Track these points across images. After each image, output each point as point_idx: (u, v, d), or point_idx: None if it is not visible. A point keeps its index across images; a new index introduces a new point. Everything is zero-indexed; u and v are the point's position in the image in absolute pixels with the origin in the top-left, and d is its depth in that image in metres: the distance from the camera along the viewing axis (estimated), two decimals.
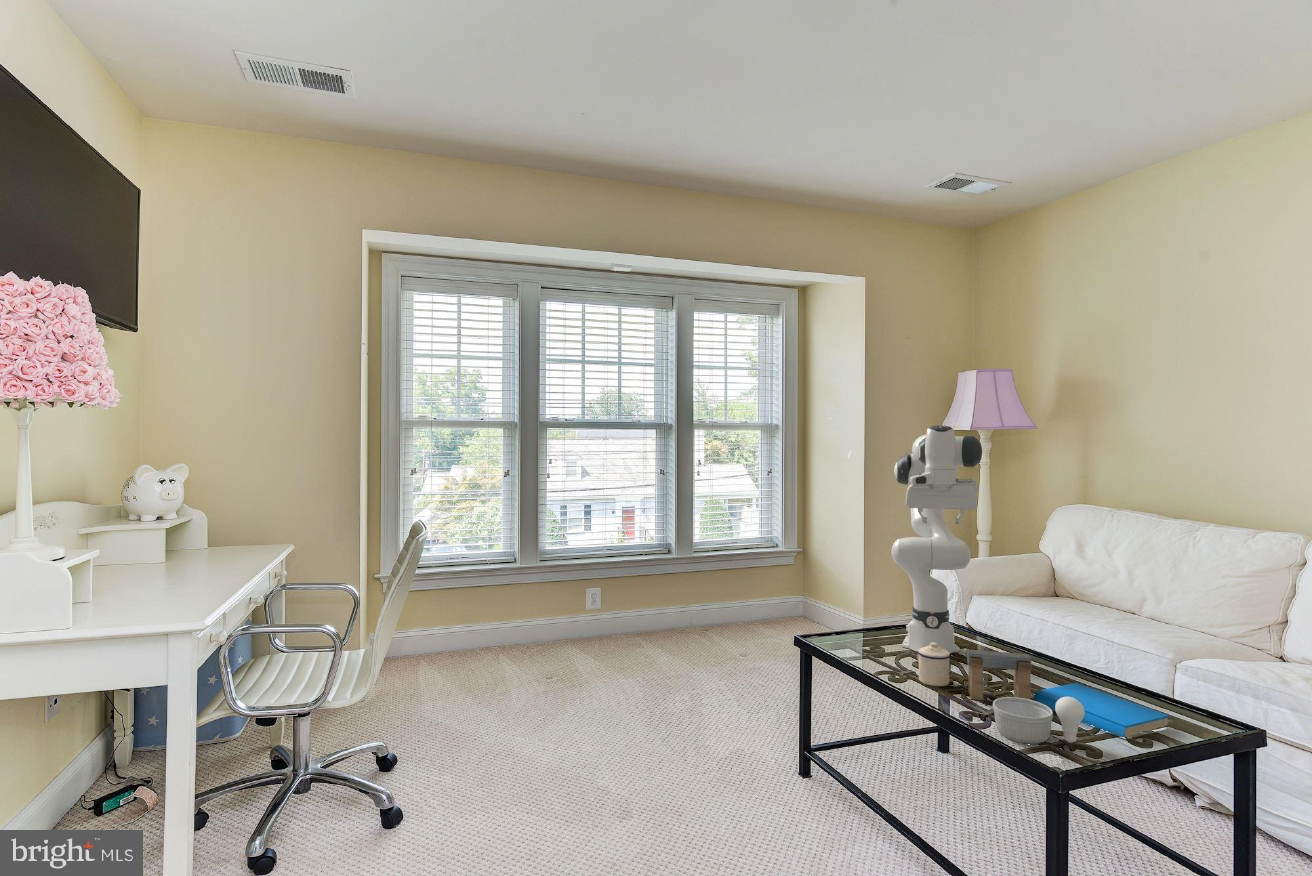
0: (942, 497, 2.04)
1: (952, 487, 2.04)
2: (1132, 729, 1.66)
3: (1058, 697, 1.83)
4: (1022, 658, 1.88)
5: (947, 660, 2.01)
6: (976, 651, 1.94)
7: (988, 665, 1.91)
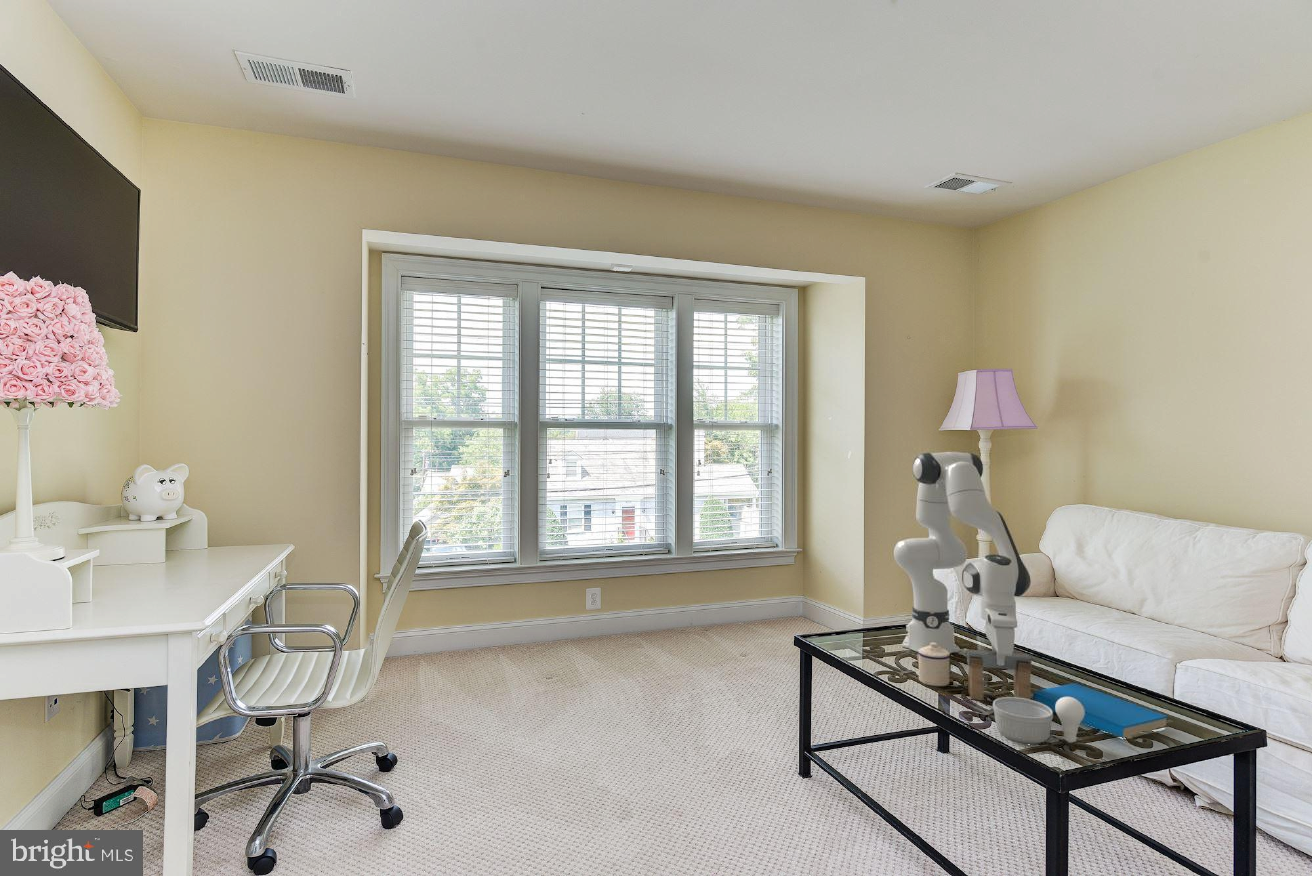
0: None
1: None
2: (1130, 729, 1.65)
3: (1056, 697, 1.83)
4: (1022, 658, 1.88)
5: (947, 660, 2.01)
6: (976, 651, 1.94)
7: (988, 665, 1.91)
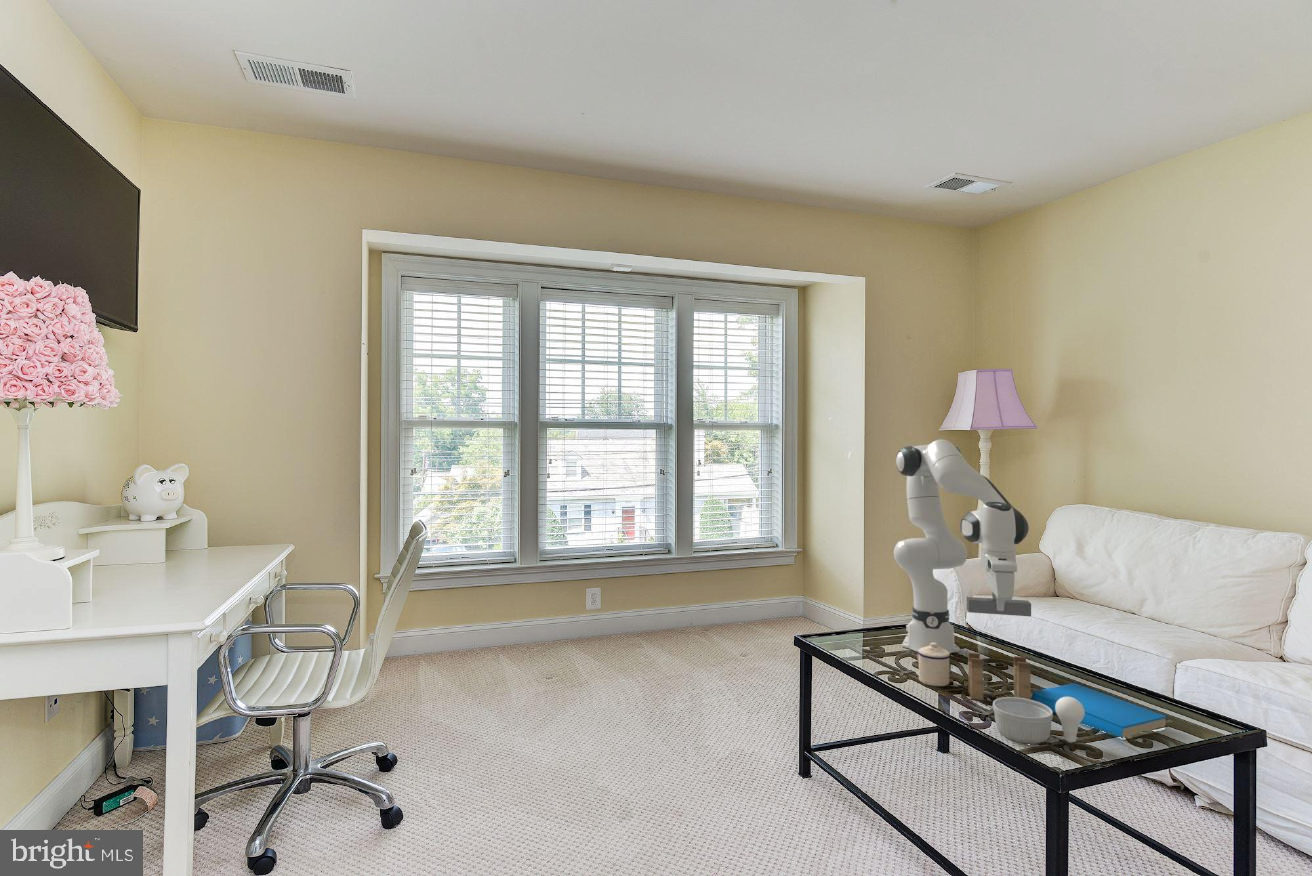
0: None
1: None
2: (1129, 729, 1.65)
3: (1056, 697, 1.83)
4: (1022, 604, 1.88)
5: (947, 660, 2.01)
6: (976, 598, 1.94)
7: (988, 611, 1.91)
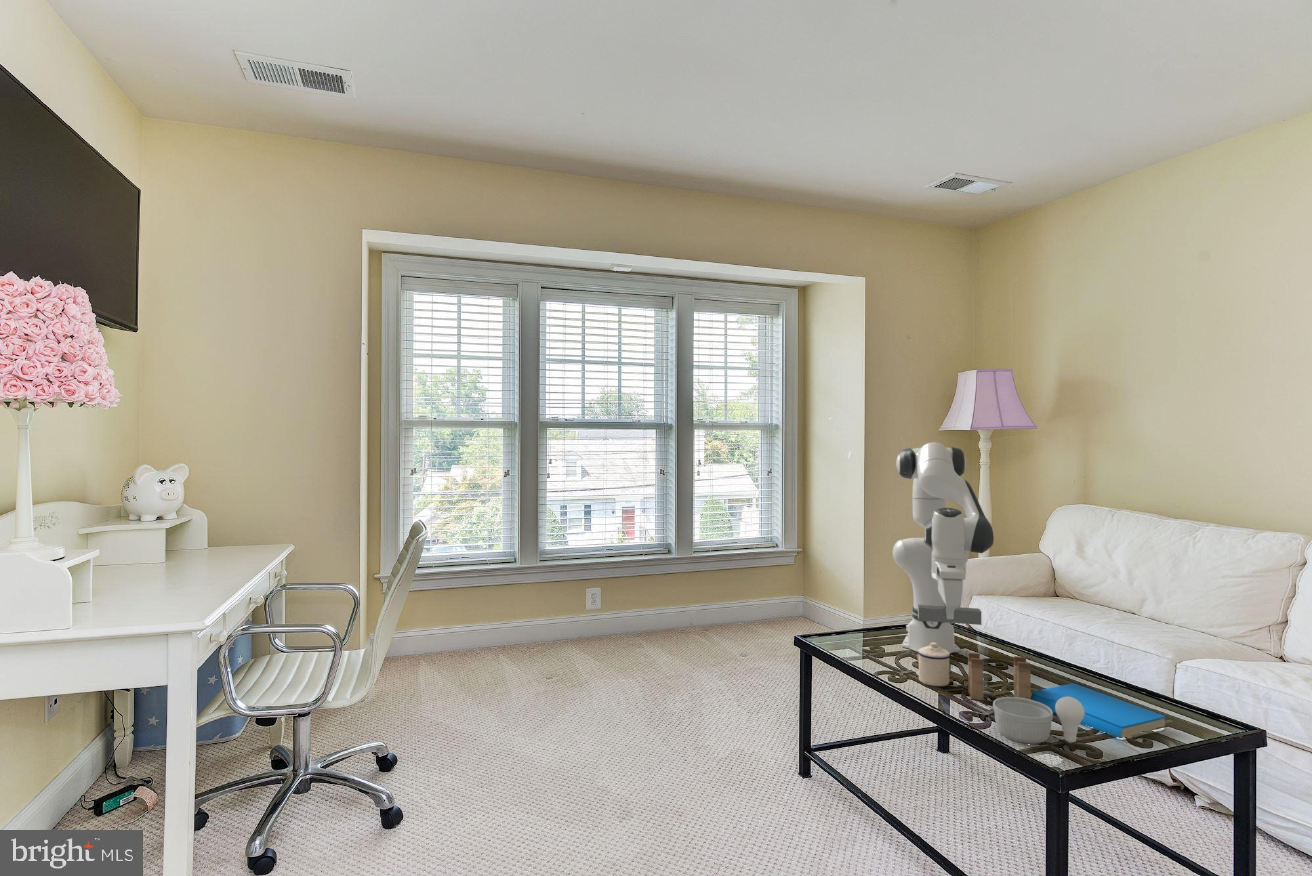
0: None
1: None
2: (1128, 729, 1.65)
3: (1055, 698, 1.83)
4: (972, 612, 1.85)
5: (947, 660, 2.01)
6: (927, 606, 1.90)
7: (938, 619, 1.87)
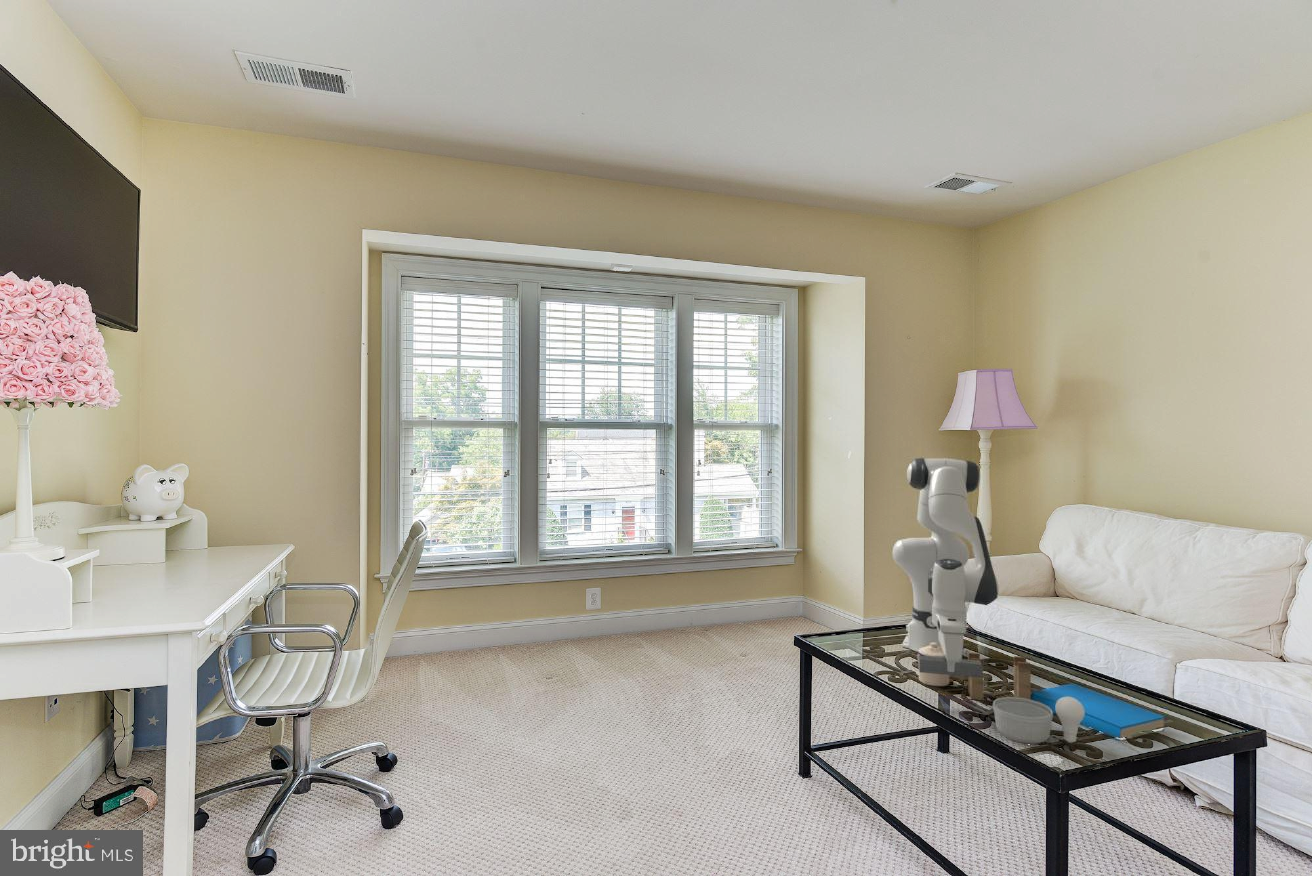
0: None
1: None
2: (1127, 730, 1.65)
3: (1054, 698, 1.82)
4: (973, 664, 1.84)
5: None
6: (927, 657, 1.90)
7: (939, 672, 1.87)
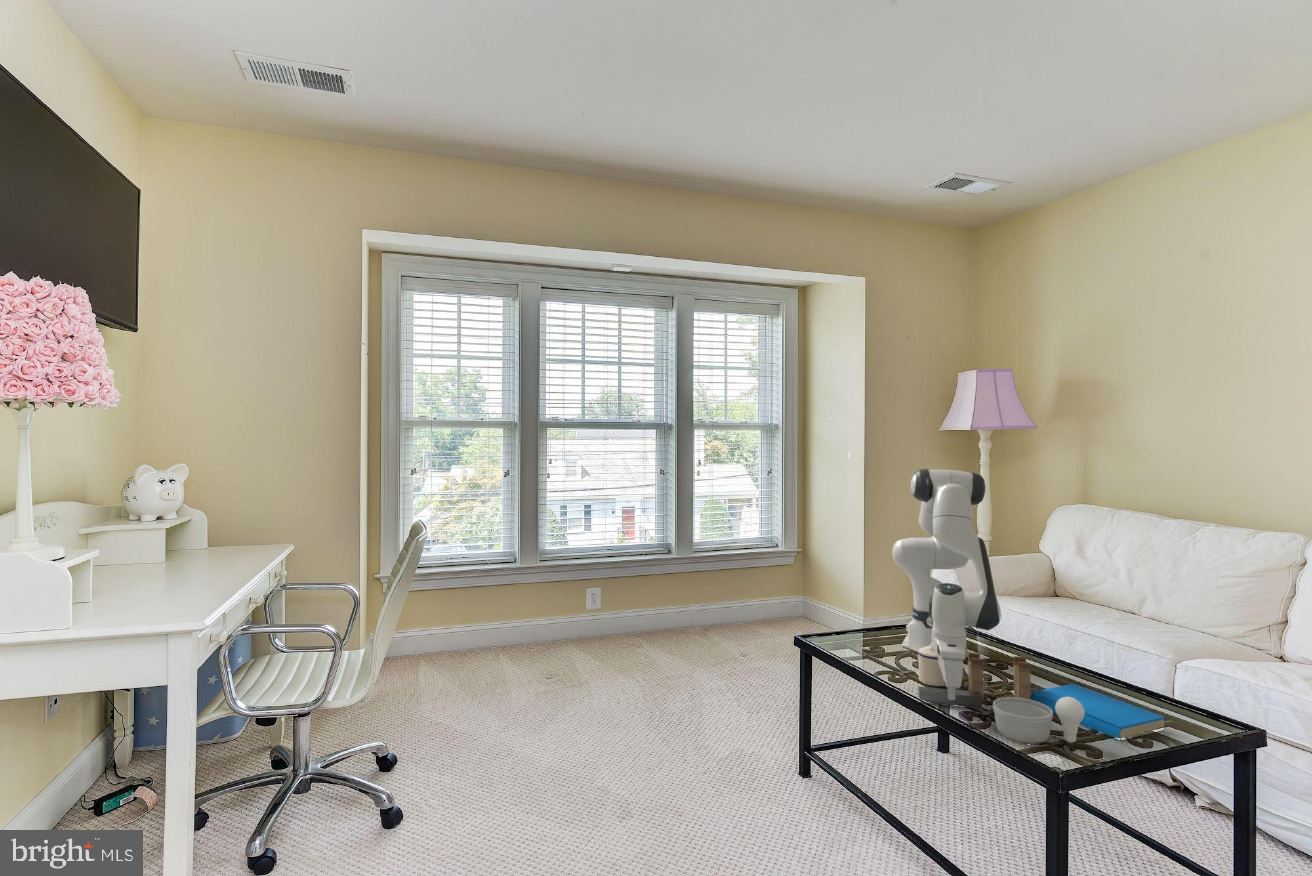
0: None
1: None
2: (1127, 730, 1.65)
3: (1054, 698, 1.82)
4: (972, 697, 1.85)
5: None
6: (927, 688, 1.90)
7: (938, 703, 1.87)
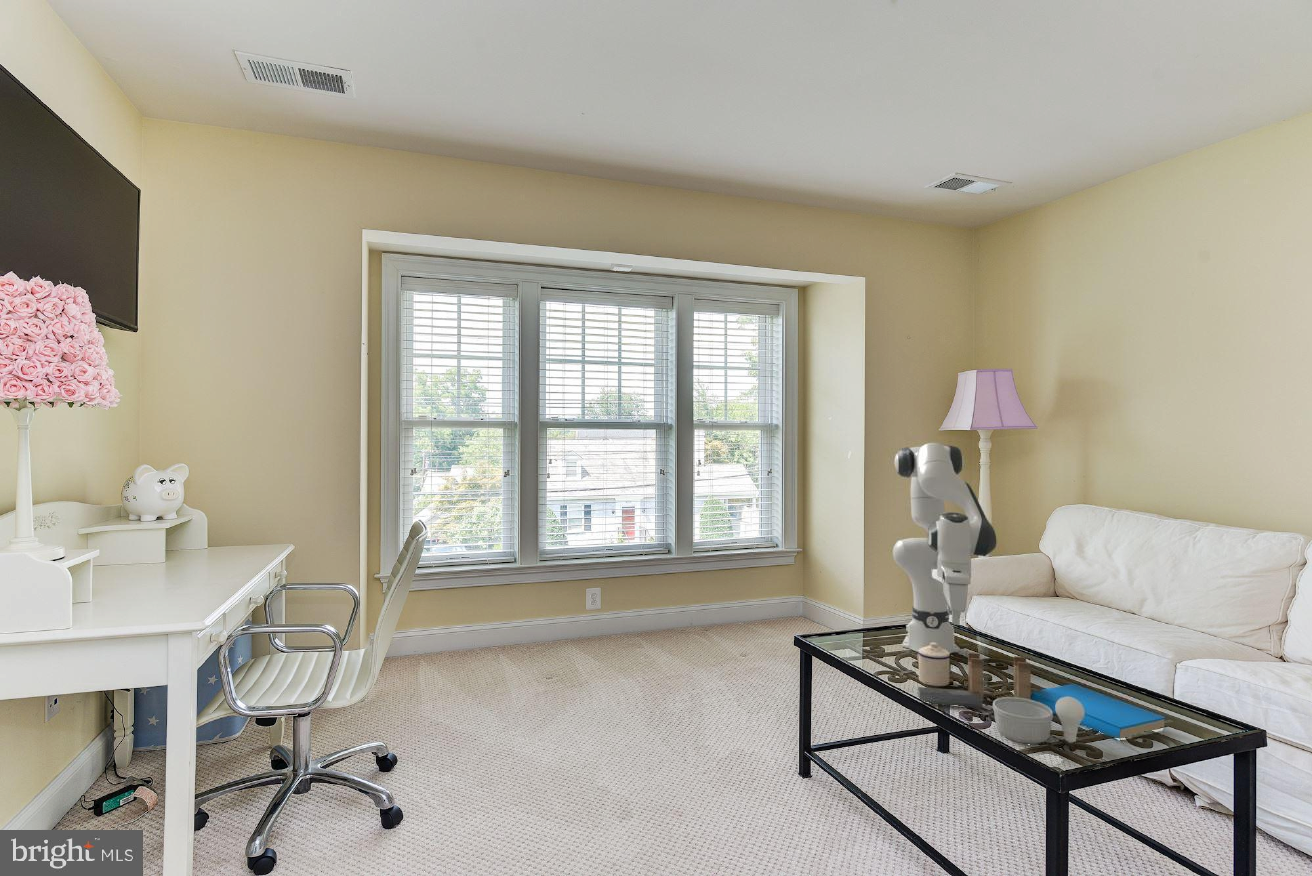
0: None
1: None
2: (1127, 730, 1.65)
3: (1054, 698, 1.82)
4: (973, 696, 1.85)
5: (947, 660, 2.01)
6: (927, 689, 1.90)
7: None
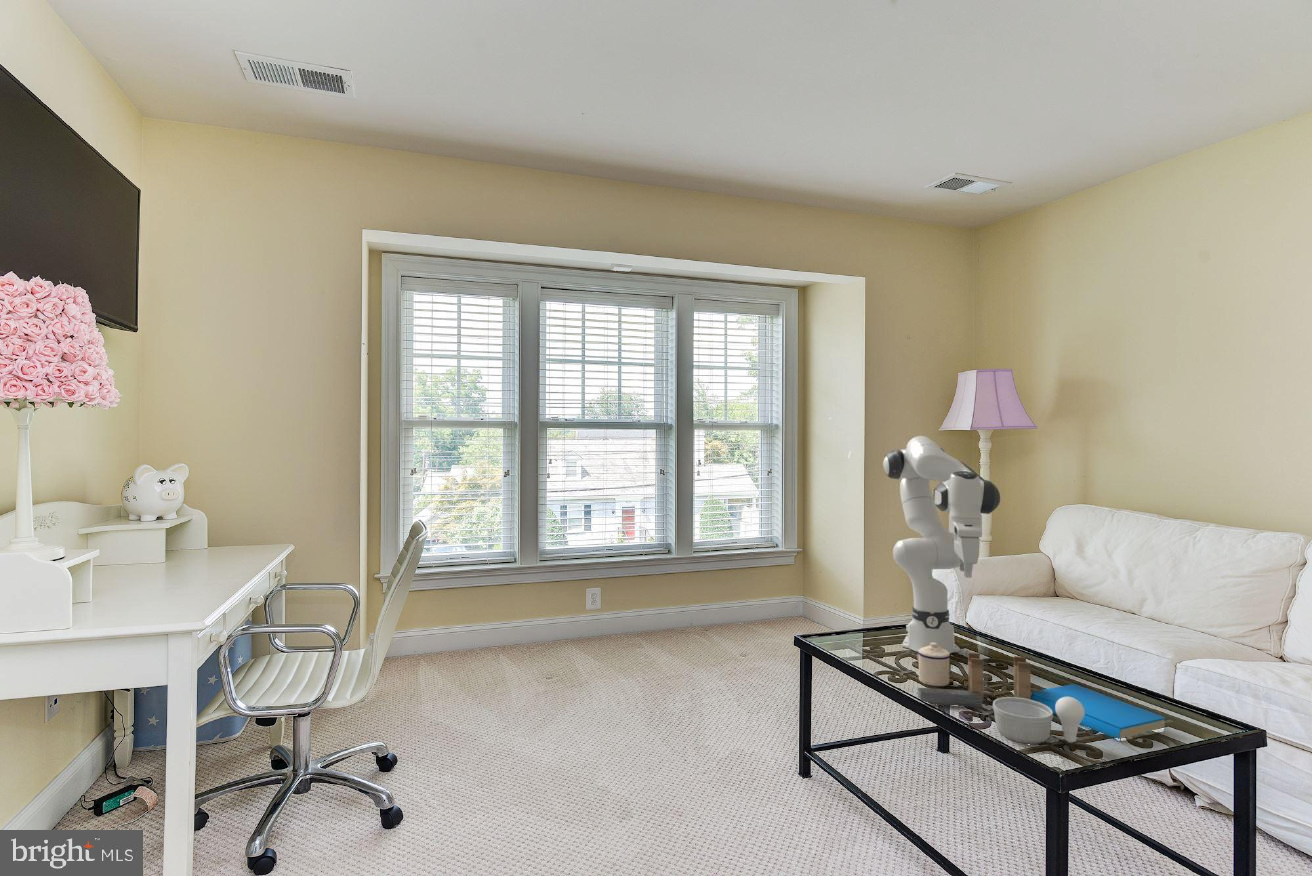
0: None
1: None
2: (1127, 730, 1.65)
3: (1054, 698, 1.82)
4: (973, 696, 1.85)
5: (947, 660, 2.01)
6: (927, 689, 1.89)
7: (940, 704, 1.86)
